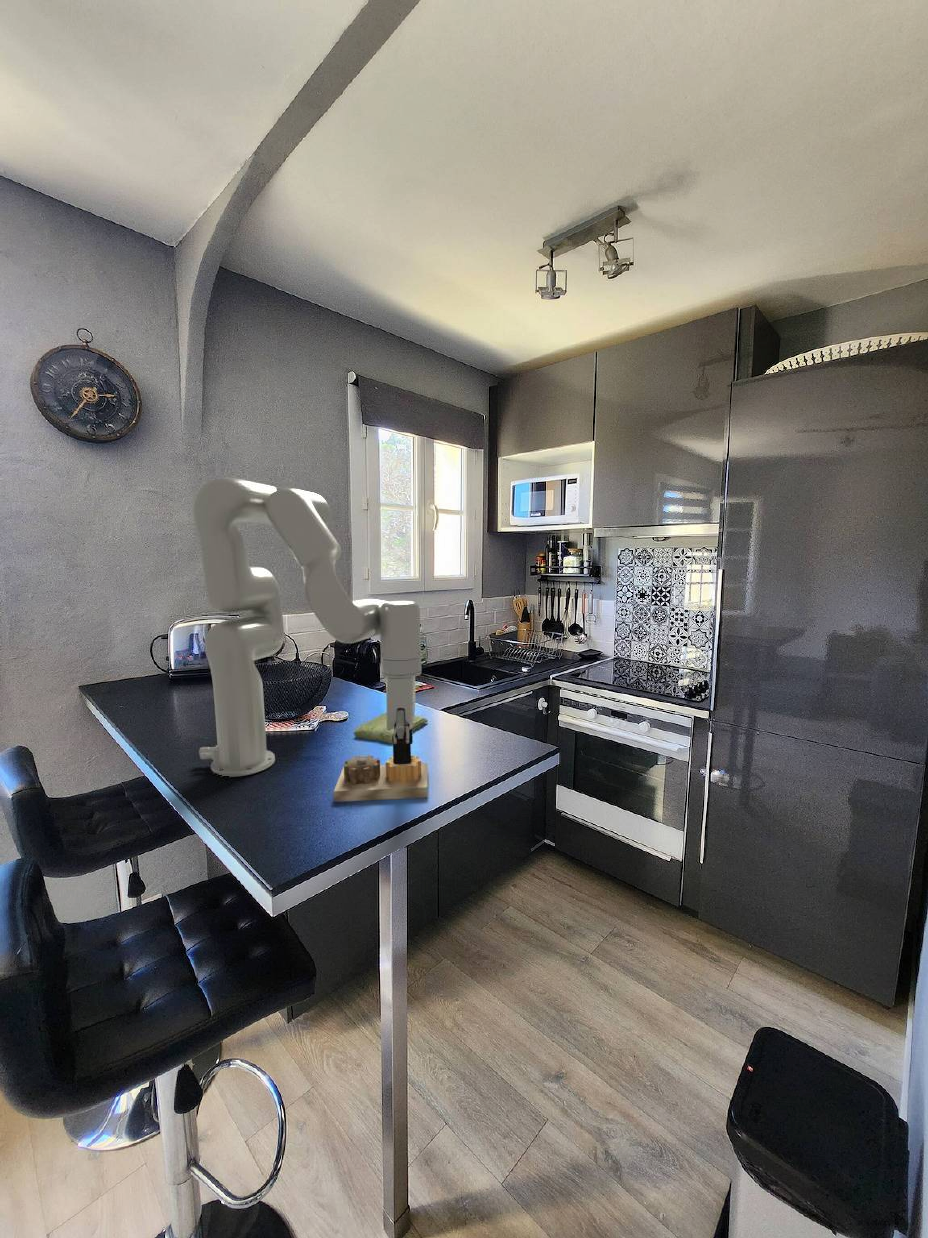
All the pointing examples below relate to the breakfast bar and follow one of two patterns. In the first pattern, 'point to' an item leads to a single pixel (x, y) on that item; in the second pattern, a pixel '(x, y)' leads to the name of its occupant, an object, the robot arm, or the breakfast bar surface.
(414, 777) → the loose gear
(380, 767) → the gear board
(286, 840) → the breakfast bar surface
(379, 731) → the washcloth
